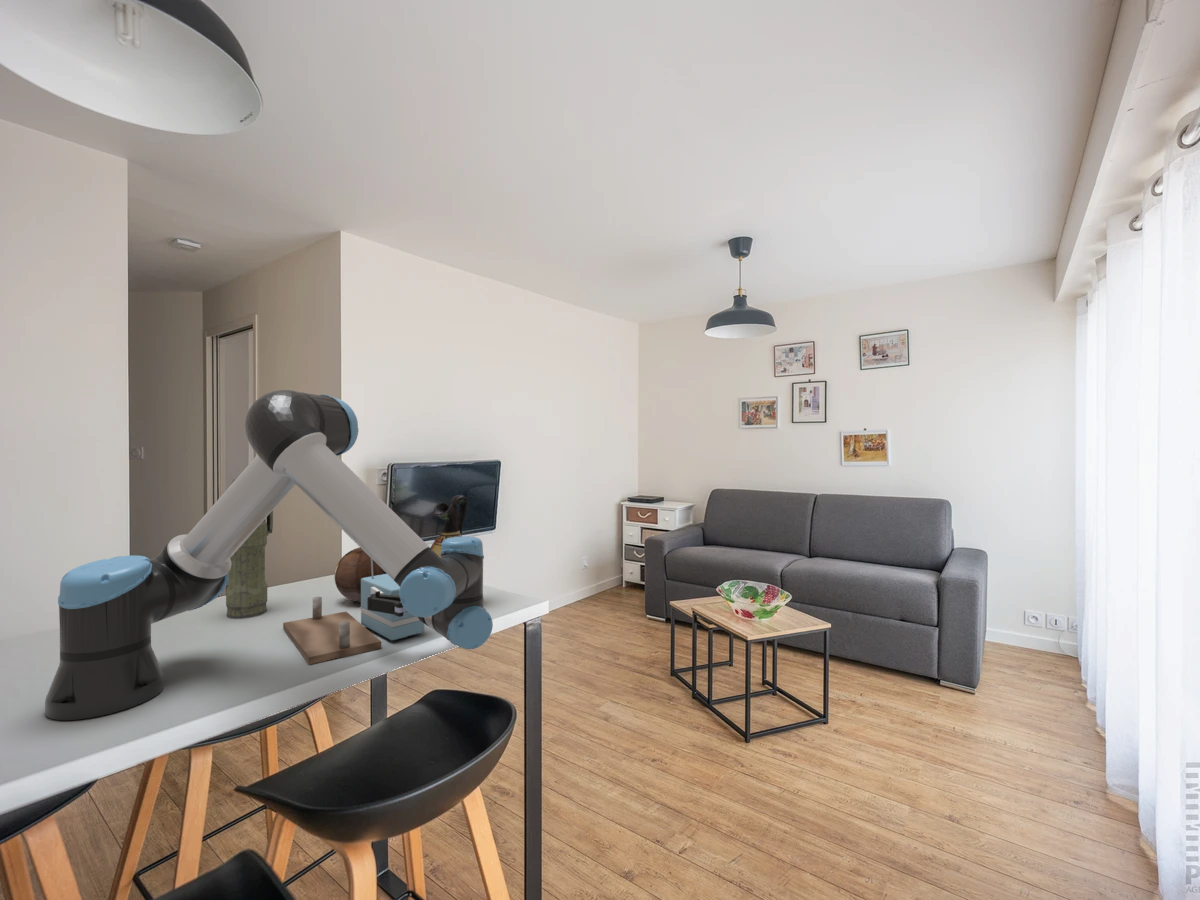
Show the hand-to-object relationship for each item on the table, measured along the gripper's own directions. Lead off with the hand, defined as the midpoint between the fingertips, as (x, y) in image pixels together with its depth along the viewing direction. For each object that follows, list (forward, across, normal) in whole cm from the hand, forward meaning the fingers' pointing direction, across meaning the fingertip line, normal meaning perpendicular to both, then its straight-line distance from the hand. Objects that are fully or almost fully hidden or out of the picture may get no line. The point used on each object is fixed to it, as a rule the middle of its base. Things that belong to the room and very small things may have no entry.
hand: (403, 588), depth 126 cm
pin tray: (+8, -14, -11) cm, 19 cm away
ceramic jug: (+16, +18, -11) cm, 27 cm away
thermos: (+41, -26, -11) cm, 50 cm away
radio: (+4, 0, -11) cm, 12 cm away
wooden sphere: (+34, +1, -11) cm, 36 cm away
